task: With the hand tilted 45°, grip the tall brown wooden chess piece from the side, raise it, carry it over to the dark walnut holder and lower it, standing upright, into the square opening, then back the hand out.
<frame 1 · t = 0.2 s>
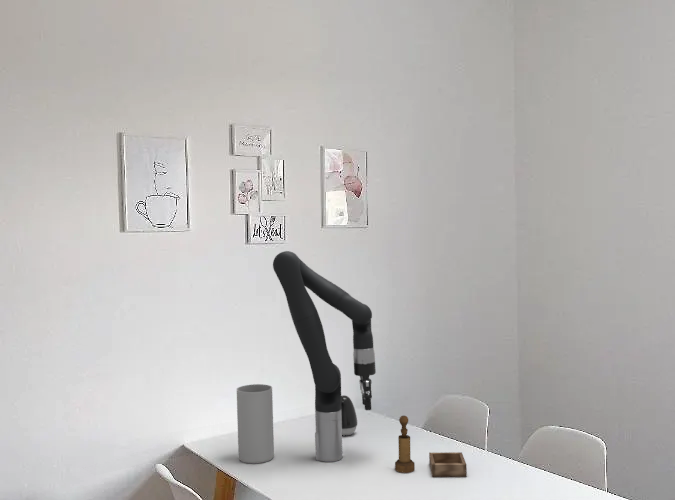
hand: (366, 407, 240), 18 cm above the table, tool pointing down, fingers open, 8 cm apart
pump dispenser: (344, 434, 270), on the table
cylinder vase: (256, 458, 244), on the table
brown wooden chess piece: (404, 470, 229), on the table
walnut holder: (447, 470, 227), on the table
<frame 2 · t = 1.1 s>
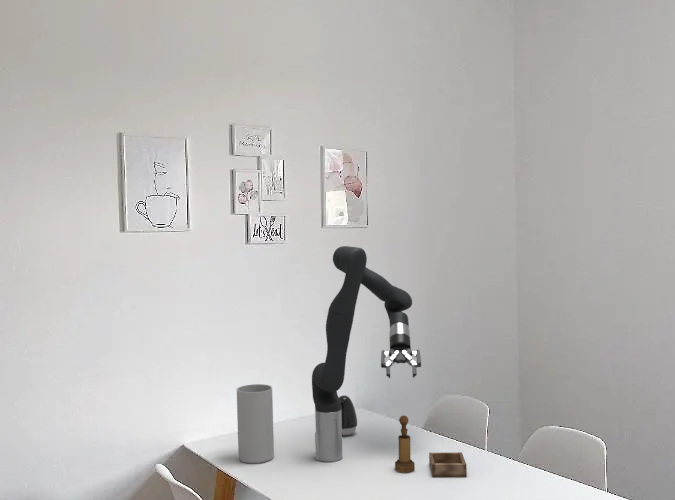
hand: (401, 376, 240), 28 cm above the table, tool tilted 45°, fingers open, 8 cm apart
nothing on the table moved.
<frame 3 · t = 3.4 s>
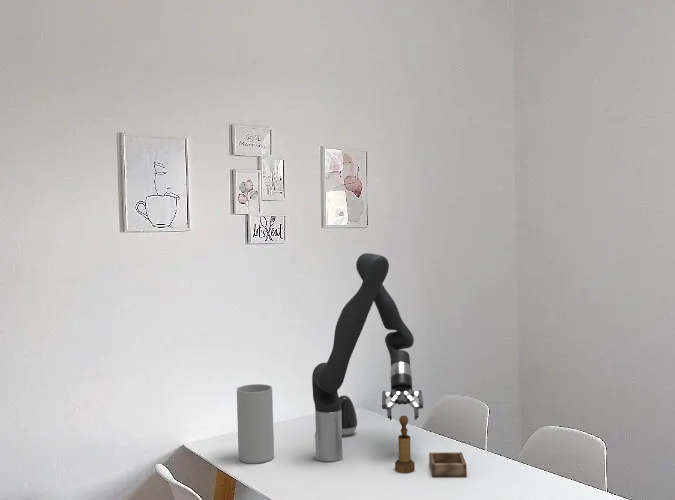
hand: (403, 418, 234), 15 cm above the table, tool tilted 45°, fingers open, 8 cm apart
nothing on the table moved.
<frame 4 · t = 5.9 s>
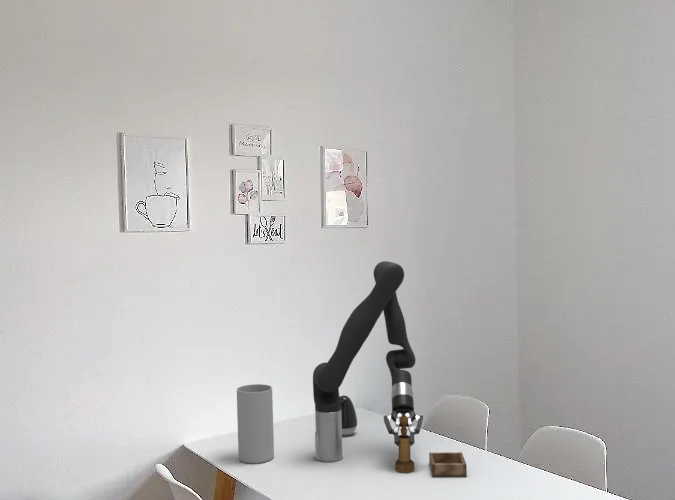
hand: (404, 444, 226), 9 cm above the table, tool tilted 45°, fingers closed on brown wooden chess piece, 4 cm apart
brown wooden chess piece: (404, 470, 229), on the table, touching gripper
everything else where it was.
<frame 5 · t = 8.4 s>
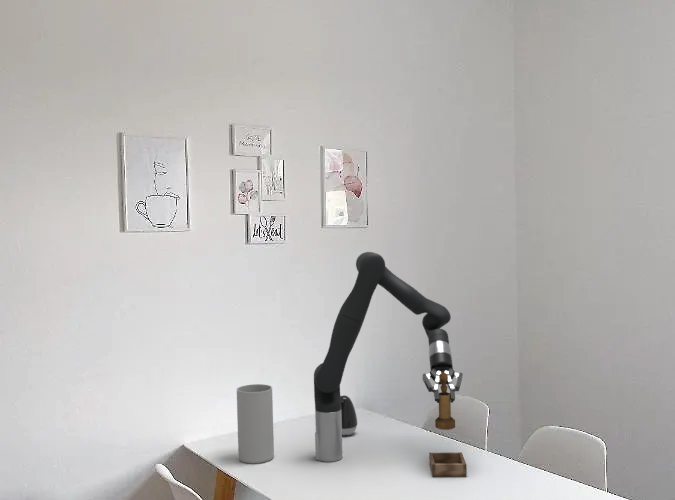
hand: (445, 401, 225), 23 cm above the table, tool tilted 45°, fingers closed on brown wooden chess piece, 4 cm apart
brown wooden chess piece: (445, 427, 227), point 14 cm above the table, touching gripper
everything else where it was.
when the fingers open (11 cm above the table, at t = 11.0 s): brown wooden chess piece drops 1 cm, resting on walnut holder.
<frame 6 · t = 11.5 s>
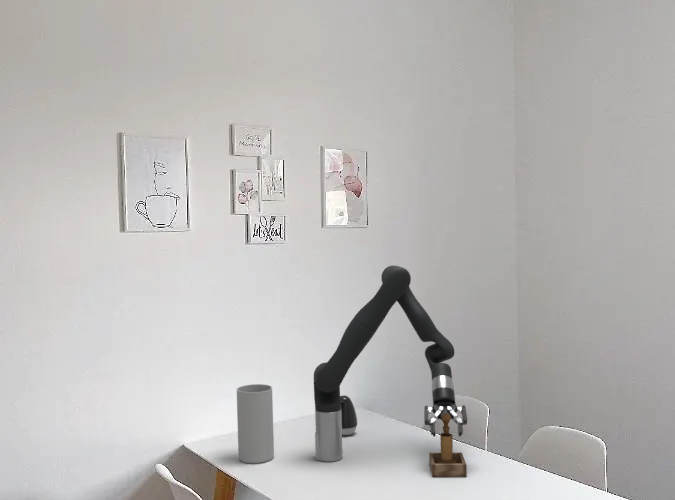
hand: (447, 435, 225), 12 cm above the table, tool tilted 45°, fingers open, 8 cm apart
brown wooden chess piece: (446, 468, 227), point 1 cm above the table, touching walnut holder
everything else where it was.
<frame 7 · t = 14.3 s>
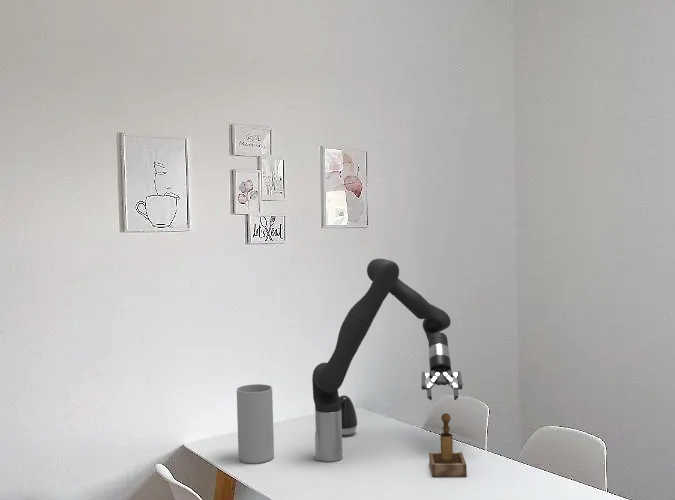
hand: (443, 399, 237), 21 cm above the table, tool tilted 45°, fingers open, 8 cm apart
nothing on the table moved.
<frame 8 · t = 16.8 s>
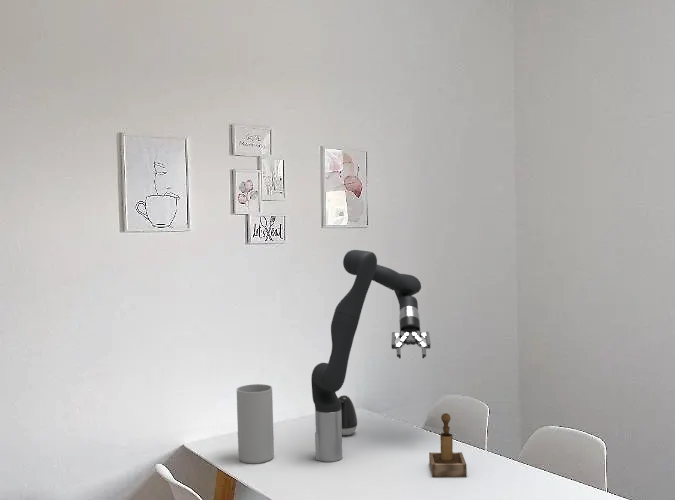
hand: (411, 357, 248), 34 cm above the table, tool tilted 45°, fingers open, 8 cm apart
nothing on the table moved.
at the end: brown wooden chess piece 0.3 cm off-centre on the walnut holder, point 0.6 cm above the walnut holder's base; brown wooden chess piece tilted 0°; the gripper is holding nothing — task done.
